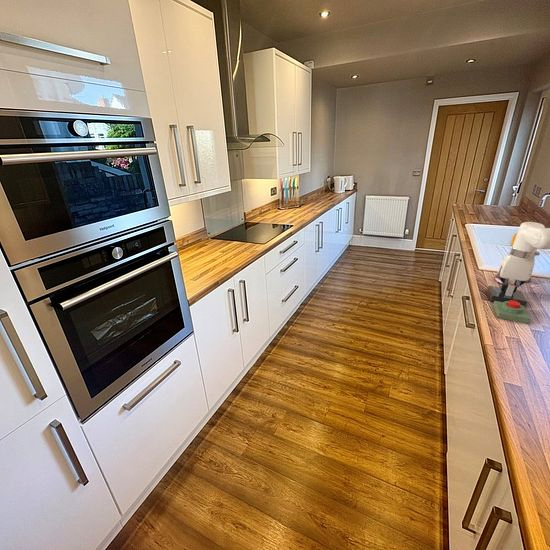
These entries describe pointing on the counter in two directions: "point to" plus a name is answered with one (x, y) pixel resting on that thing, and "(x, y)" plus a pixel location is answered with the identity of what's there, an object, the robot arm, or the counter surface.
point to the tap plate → (497, 295)
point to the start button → (513, 304)
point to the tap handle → (510, 288)
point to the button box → (511, 312)
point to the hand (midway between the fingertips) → (507, 292)
